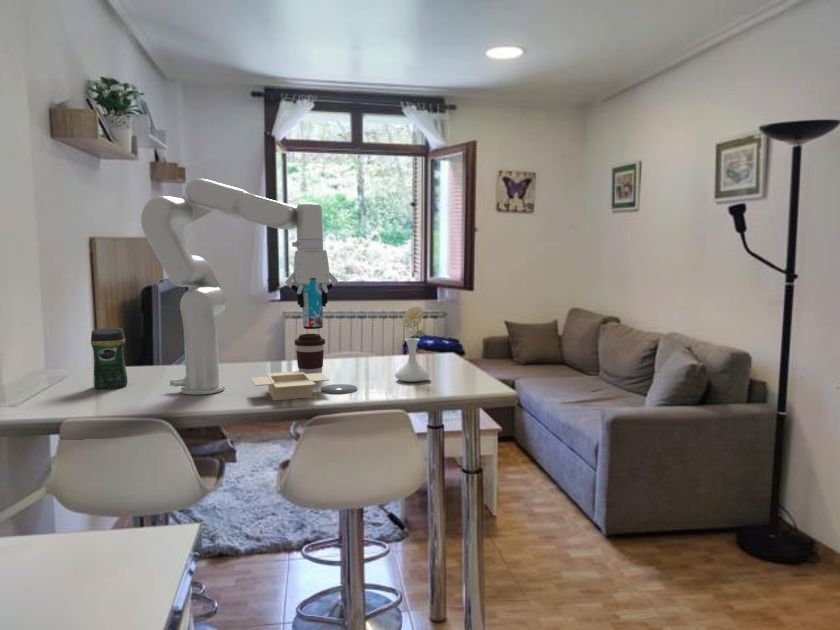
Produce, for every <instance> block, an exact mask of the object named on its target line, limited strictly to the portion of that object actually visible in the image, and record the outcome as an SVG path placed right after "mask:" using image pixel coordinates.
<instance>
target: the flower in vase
mask: <svg viewBox="0 0 840 630" xmlns="http://www.w3.org/2000/svg"><path fill="white" fill-rule="evenodd" d="M423 319H424V310H423V309H422V307H419V306H418V305H415V306H411V307H410V308H408V309H407V310H406V311H404V314H403V317H402V322H403V323H402V325H403V326H404V327H405V328H406V331H407V332H408V333H409V334H411V335H412V336H413V337H409V338H405V339H404V341H405V342H406V344H407V348H408V360H407V362H406V363H405V364H404V365H403V366H402V367H400V368H399V369H398V371H396V373H395V374H394V377H395V378H396V379H397V380H400V381H402V382H411V383H412V382H413V383H414V382H422V381H425V380H427V379H429V378H430V373H429V372H428V370H427V369H425V368H424V367H423V366H422V365H421V364H419V362H418V361H417V358H416V355H417V347H418V343H419V342H420V340H421V339H420V338H421V337H425V333H424V330H423V329H419V325H420V323H421V322H422V320H423ZM413 327H414V328H416V332H415V333H414V332H413V331H411V330H410V329H413ZM416 336H417V337H418V338H417V337H416Z"/></svg>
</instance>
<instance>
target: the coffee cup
mask: <svg viewBox="0 0 840 630" xmlns="http://www.w3.org/2000/svg"><path fill="white" fill-rule="evenodd" d="M325 344H326V339H325V338H322V335H321V334H319V333H302V334H299V335H298V338H296V339H294V346H296V359H297V360H296V362H297V368H298V371H303V372H304V373H305V374H310V373H322V374H323V367H324V345H325Z"/></svg>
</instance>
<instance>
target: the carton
mask: <svg viewBox="0 0 840 630" xmlns="http://www.w3.org/2000/svg"><path fill="white" fill-rule="evenodd" d="M265 375H266V376H257V377H251V378H250V379H251V381H252V383H253V385H254V387H261V386H268V391H267V392H268V393H269V395H270V397H271V399H272V400H273V401H283V400H294V399H306V398H307V399H308V398H313V395H314V394H313V392H314V389H313V386H317V384H316V383H315V382H317V383H318V382H328V381H330V379H329V378H328V377H327V376H326V375H325V374H324V373H323V372H322V373H310V374H305V373H304V372H303V371H299V370H298V371H297V370H296V371H287V372H286V371H283V372H282V371H281V372H268V373H265Z"/></svg>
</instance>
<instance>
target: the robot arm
mask: <svg viewBox="0 0 840 630" xmlns="http://www.w3.org/2000/svg"><path fill="white" fill-rule="evenodd" d="M184 193H185V195H183V196H181V197H174V196H170V195H157V196H154V197H152V198H150V199H149V200H148V201H147V202H146V203H145V205H144V207H143V208H142V212H141V215H140V216H141V217H140V223H141V228H142V232H143V234H144V236H145V237H146V239H147V241H148V243H149V245H150V246H151V248H152V250H153V252H154V253H155V255H156V257H157V259H158V261H159V263H160V265H161V267H162V268H163V270H164V272H165V274H166V276H167V278H168V279H169V281H170V282H171V284H173V285H174V286H176V287H180V288H181V287H182V288H186V287H187V288H188V290H186V291H185V293H184V294H183V295H182V297H181V299H180V303H179V309H180V315H181V319H182V325H183V326H182V327H183V338H184V339H183V340H184V363H185V374H184V377H181V378H179V379H176V378H175V379H170V380H169V386H170V387H181V388H180V393H182V394H184V395H191V396H193V395H194V396H195V395H197V396H198V395H201V396H202V395H210V394H212V395H213V394H217V393H219V392H222V391H224V390H225V387H226V386H225V384H223V383H221V382H220V370H219V368H220V366H219V365H220V364H219V343H218V342H219V339H218V327H217V322H216V319H215V318H216V317H215V316H218V315H220V314H222V313H223V312H224V311H225V309H226V307H227V305H228V297H227V294H226V292H225V290H224V288H223V286H222V285H221V282H220V281H219V279H218V277H217V276H216V274H215V272H214V270H213V267H212V266H211V264H210V263H208V261H207V260H206V259H205V258H203V257H201V256H199V255H194V254H193V255H191V253H190V252H189V251H188V248H187V247H186V246H185V244H184V241H183V240H182V237H180V235H179V234H178V233H177V232H176V230H175V229H174V227H173V226H176V227H183V226H187V225H190V224H192V223H194V222H196V221H198V220H199V219H201V218H203V217H205V216H207V215H209V214H210V213H213V212H216V213H219V214H222V215H225V216H229V217H232V218H236V219H241V220H245V221H248V222H251V223H255V224H260V225H262V226H266V227H269V228H273V229H279V230H293V229H294V230H295V229H296V241H292V242H291V245H292V247H294V248H296V249H297V250H295V252H294V258H293V273H292V274H291V275H289V277H288V278H287V279H286V280H285V284H286V285H287V286H288V287H289V288H290V289H291V290H292V291H293V292H295V294H296V297H297V298H296V299H297V305H298V306H299V308H301V309H302V308H303V307H304V304H303V294H302V289H303V285H306V284H309V283H310V281H311V280H310V278H316V282H317V283H318V284H321V285H322V307H326V306H327V305H326V304H328V293H329V291H331V289H332V288H333V287H334V286H335V284H336V283H337V282H338V281H339V280H338V278H336V277H335V276H334V275H333V274H332V273H331V272H330V266H329V259H328V258H329V257H328V252H327V250H324V239H323V237H324V235H323V233H324V232H323V210H322V206H321V205H320V204H319V203H316V202H315V203H314V202H302V203H298V204H297V205H295V204H289V203H284V202H281V201H277V200H273V199H269V198H268V197H267V198H266V197H262V196H259V195H255V194H253V193H251V192H250V193H249V192H248V191H246V190H244V189H242V188H238V187H234V186H231V185H227V184H224V183H220V182H217V181H213V180H210V179H206V178H201V177H198V178H197V177H196V178H193V179H191V180H189V182H188V183H187V184H186V186H185V188H184ZM293 281H294V283H293ZM295 284H297V286H296V285H295Z"/></svg>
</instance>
